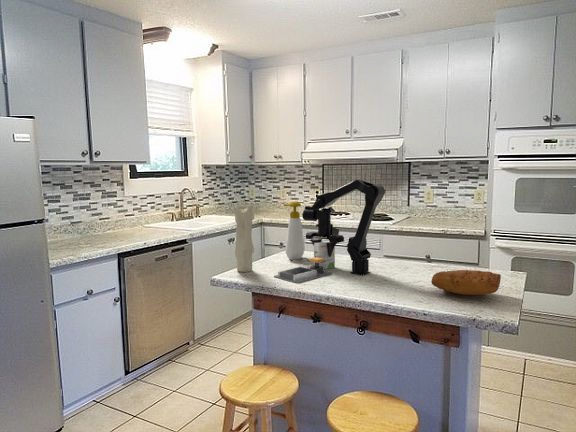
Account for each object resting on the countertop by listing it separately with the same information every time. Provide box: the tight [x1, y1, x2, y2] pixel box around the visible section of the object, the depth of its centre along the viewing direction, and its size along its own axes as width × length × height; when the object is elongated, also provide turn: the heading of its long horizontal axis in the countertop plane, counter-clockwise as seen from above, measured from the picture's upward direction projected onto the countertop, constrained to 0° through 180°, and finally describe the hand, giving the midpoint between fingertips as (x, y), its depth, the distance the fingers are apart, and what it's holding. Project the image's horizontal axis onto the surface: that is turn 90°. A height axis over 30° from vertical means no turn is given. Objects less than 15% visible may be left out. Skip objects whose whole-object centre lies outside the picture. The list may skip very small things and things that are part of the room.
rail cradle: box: [273, 265, 333, 284], centre depth 178 cm, size 14×21×3 cm, turn 134°
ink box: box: [313, 240, 336, 270], centre depth 191 cm, size 8×5×12 cm, turn 116°
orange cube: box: [309, 257, 324, 267], centre depth 184 cm, size 4×4×4 cm
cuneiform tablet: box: [431, 269, 502, 296], centre depth 149 cm, size 22×17×8 cm
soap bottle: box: [283, 201, 306, 261], centre depth 210 cm, size 13×10×29 cm
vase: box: [234, 203, 255, 273], centre depth 186 cm, size 9×8×30 cm
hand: (324, 255), depth 191 cm, fingers open, 6 cm apart
